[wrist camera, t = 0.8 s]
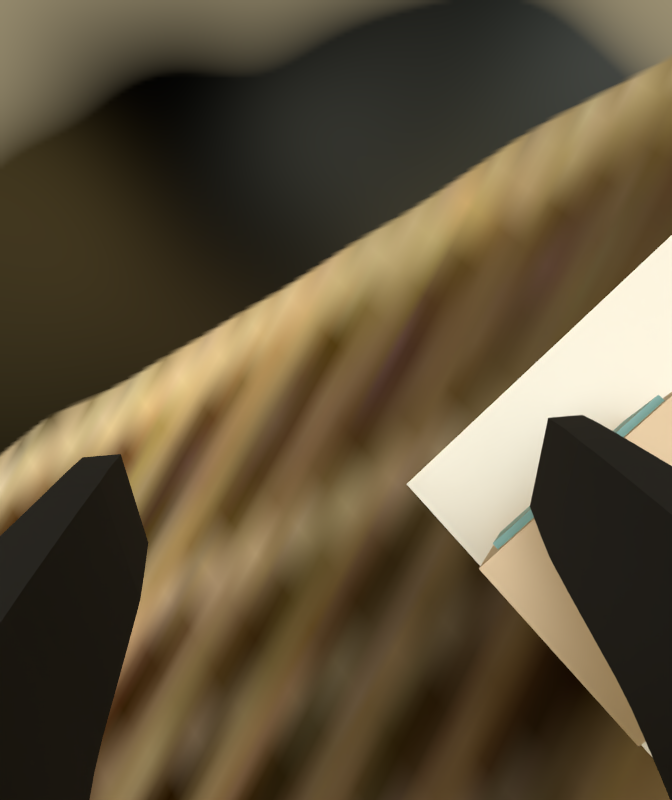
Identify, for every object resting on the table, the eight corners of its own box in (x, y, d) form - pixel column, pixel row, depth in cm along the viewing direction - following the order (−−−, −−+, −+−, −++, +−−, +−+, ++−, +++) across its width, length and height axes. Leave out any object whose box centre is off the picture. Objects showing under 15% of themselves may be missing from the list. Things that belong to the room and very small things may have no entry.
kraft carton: (750, 522, 19) (896, 539, 12) (595, 652, 20) (638, 747, 12) (628, 415, 21) (687, 370, 13) (490, 539, 22) (473, 562, 14)
